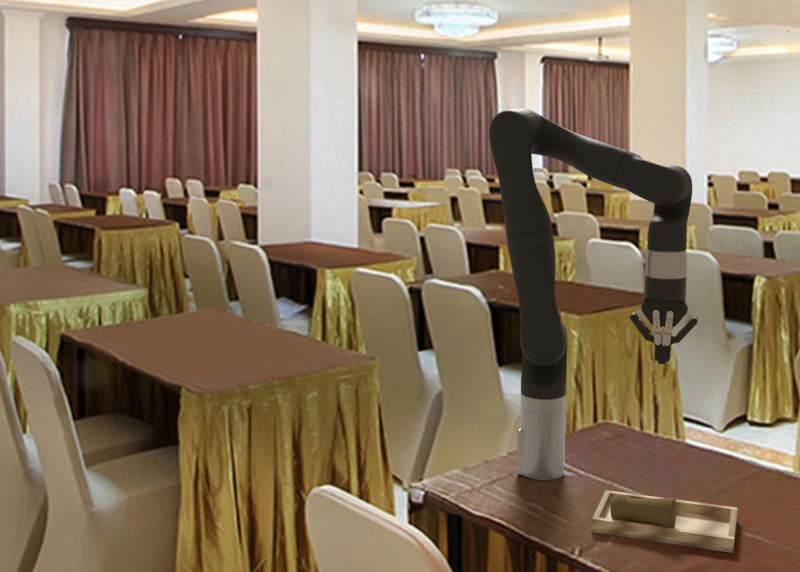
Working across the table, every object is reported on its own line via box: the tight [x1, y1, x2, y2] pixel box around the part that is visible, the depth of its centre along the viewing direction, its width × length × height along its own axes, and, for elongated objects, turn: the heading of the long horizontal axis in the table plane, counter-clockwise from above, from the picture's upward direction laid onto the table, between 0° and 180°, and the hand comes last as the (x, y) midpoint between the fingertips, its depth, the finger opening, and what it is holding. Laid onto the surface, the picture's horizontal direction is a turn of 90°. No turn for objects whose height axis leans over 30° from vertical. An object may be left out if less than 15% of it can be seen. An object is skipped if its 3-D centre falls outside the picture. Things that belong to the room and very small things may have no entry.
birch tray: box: [591, 489, 738, 554], centre depth 173 cm, size 24×14×2 cm, turn 69°
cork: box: [610, 495, 677, 528], centre depth 172 cm, size 6×6×11 cm
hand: (662, 363), depth 182 cm, fingers closed
